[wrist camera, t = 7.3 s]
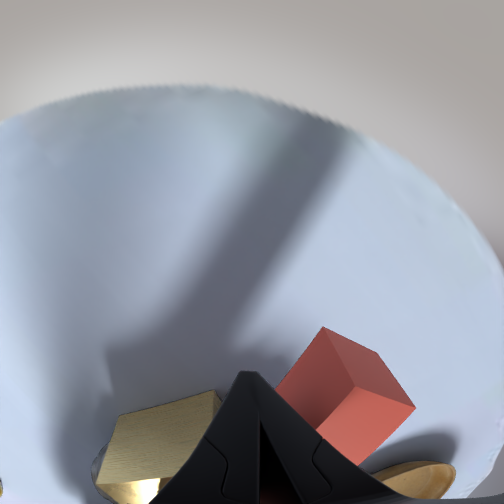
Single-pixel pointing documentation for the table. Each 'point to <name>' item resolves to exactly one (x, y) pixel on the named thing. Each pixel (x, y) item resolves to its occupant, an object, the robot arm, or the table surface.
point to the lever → (346, 395)
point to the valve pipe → (151, 448)
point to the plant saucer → (418, 478)
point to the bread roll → (1, 489)
